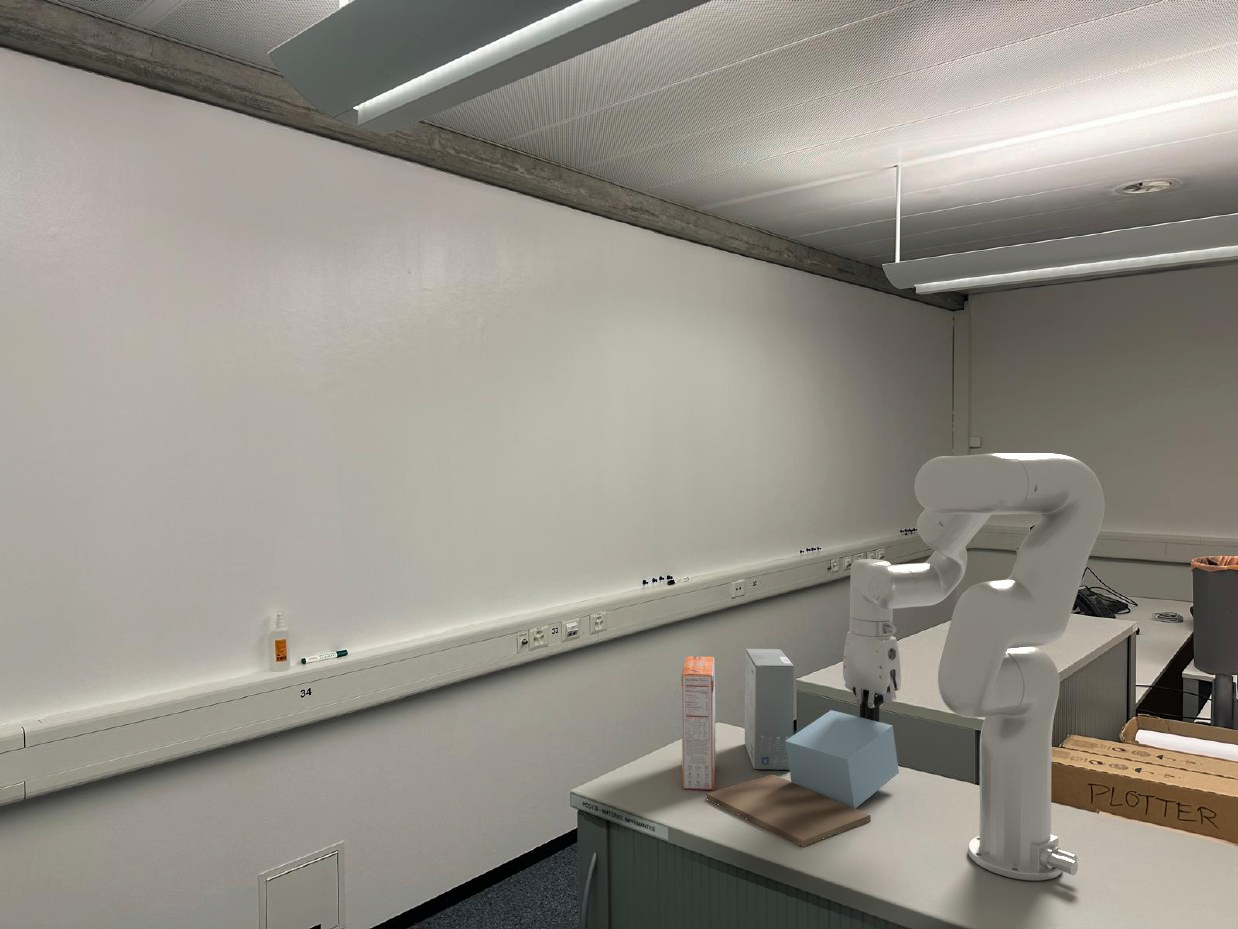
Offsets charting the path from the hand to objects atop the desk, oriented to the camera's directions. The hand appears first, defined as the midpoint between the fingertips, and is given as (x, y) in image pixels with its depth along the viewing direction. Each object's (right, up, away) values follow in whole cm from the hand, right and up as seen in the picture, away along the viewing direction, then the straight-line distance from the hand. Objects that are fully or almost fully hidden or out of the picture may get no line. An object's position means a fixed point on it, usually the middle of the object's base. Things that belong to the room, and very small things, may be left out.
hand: (869, 726), depth 156 cm
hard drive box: (-16, -10, +12) cm, 23 cm away
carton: (-5, -8, -4) cm, 11 cm away
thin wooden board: (-18, -10, -13) cm, 24 cm away
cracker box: (-31, -10, +2) cm, 33 cm away
